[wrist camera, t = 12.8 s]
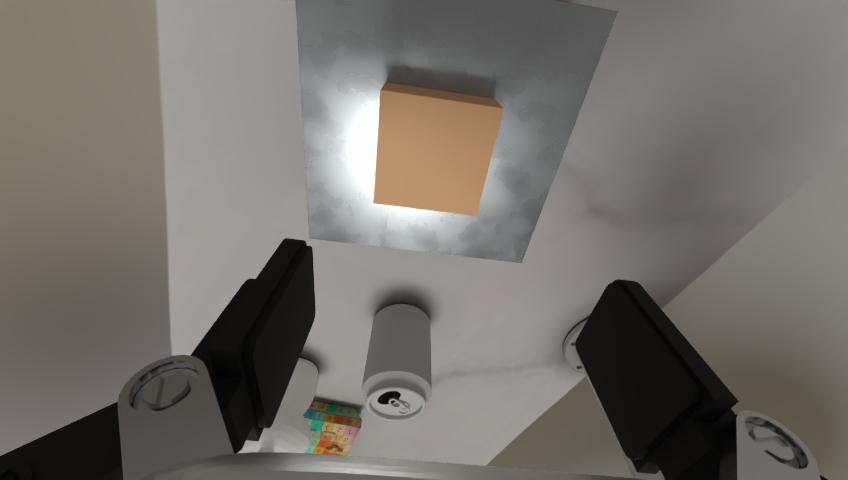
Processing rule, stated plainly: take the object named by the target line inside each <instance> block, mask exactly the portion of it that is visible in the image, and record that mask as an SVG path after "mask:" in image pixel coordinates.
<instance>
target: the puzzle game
mask: <svg viewBox="0 0 848 480" xmlns="http://www.w3.org/2000/svg"><path fill="white" fill-rule="evenodd" d="M303 417H304V418H305V419H306V420H307V422H308V425H309V427H310V430H311V441H310V444H309V446H308V448H307V450H306V452H305V453H308V454H325V455H343V456H347V454H348V452H349V450H350V448H351V446H352V444H353V442H354V440H355V438H356V436H357V434H358V432H359V430H360V428H361V422H362V419H361V417H360V416H359V414H358V412H357V411H356V409H355V408H350V407H344V406H339V405H334V404H329V403H323V402H318V401H312V403H311V405H310V406H309V408H308V409H307V411H306V412H305V413H304V414H303Z"/></svg>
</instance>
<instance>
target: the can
mask: <svg viewBox="0 0 848 480" xmlns="http://www.w3.org/2000/svg"><path fill="white" fill-rule="evenodd" d="M362 394H363V397H364V398H365V399H366V408H367V409H368V411H369V412H370V413H371V414H372V415H374V416H375V417H377V418H379V419H382V420H385V421H391V422H403V421H409V420H412V419H414V418H417V417H418V416H419V415H421V414H422V413H423V412H424V410H425V409H426V403H427V402H428V401H429V399H430V397H431V394H432V383H431V338H430V320H429V318H428V316H427V315H426V314H425V313H424V312H423V311H422V310H420V309H418V308H416V307H415V306H412V305H407V304H395V305H391V306H387V307H385V308H384V309H382V310H380V311H379V312H378V313H377V314H376V315H375V318H374V321H373V325H372V331H371V337H370V343H369V349H368V355H367V360H366V366H365V372H364V378H363V384H362Z"/></svg>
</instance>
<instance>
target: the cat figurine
mask: <svg viewBox="0 0 848 480" xmlns="http://www.w3.org/2000/svg"><path fill="white" fill-rule="evenodd" d="M317 385H318V370H317V368H316V366H315V365H314V364H313V363H312V362H311V361H308V360H306V359H303V358H299V359H298V362H297V364H296V367H295V369H294V372H293V374H292V377H291V380H290V382H289V385H288V387H287V390H286V392H285V395H284V397H283V400H282V402H281V405H280V407H279V410H278V412H277V415H276V417H275V420H274V422H273V424H272V426H271V427H270V428H264V429H263V432H262V434H261V437H260V439H259V441H248V440H246V441H245V444H244V446H243V448H242V450H241V451H239V452H238V453H249V452H290V453H305V452H306V450H307V448H308V446H309V444H310V441H311V430H310V427H309V425H308V422H307V420H306V419H305V418H304V417H303V414H304V413H305V412H306V411H307V409H308V408H309V406H310V405H311V403H312V401H313V399H314V396H315V393H316V390H317Z"/></svg>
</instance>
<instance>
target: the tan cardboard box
mask: <svg viewBox="0 0 848 480" xmlns="http://www.w3.org/2000/svg"><path fill="white" fill-rule="evenodd" d="M503 111H504V108H503V107H502V106H501V105H500V104H499V103H498V102H497V101H496V100H495V99H492V98H486V97H479V96H473V95H466V94H460V93H453V92H447V91H440V90H434V89H427V88H421V87H414V86H408V85H401V84H395V83H388V82H385V84H384V85H383V87H382V88H381V90H380V104H379V120H378V136H377V152H376V168H375V184H374V201H373V203H375V204H383V205H391V206H399V207H407V208H415V209H423V210H431V211H439V212H447V213H455V214H463V215H471V216H476V215H477V211H478V207H479V203H480V200H481V196H482V192H483V188H484V184H485V180H486V177H487V173H488V169H489V165H490V161H491V157H492V153H493V150H494V146H495V142H496V138H497V134H498V130H499V127H500V123H501V119H502V115H503Z"/></svg>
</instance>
